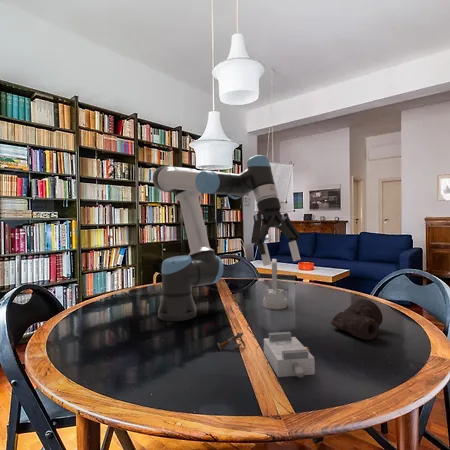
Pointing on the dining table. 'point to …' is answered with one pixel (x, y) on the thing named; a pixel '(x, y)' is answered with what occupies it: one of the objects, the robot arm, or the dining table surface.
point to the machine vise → (288, 355)
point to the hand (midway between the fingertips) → (282, 262)
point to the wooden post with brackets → (232, 341)
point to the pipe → (360, 319)
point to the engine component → (274, 292)
